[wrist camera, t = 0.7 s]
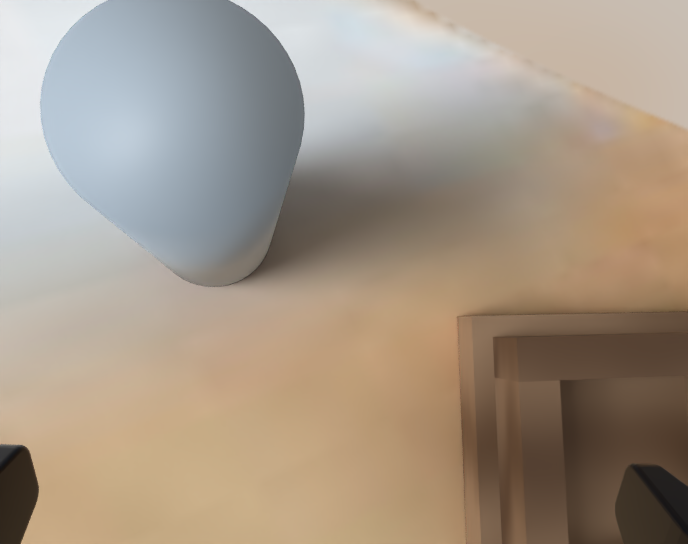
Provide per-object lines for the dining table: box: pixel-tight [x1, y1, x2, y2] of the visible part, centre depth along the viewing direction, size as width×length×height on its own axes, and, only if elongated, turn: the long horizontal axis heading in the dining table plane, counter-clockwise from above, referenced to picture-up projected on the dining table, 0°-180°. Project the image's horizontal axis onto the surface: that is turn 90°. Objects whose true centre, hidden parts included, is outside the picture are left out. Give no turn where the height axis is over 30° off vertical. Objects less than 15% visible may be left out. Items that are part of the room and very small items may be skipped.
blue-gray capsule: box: [40, 0, 305, 287], centre depth 16 cm, size 4×4×12 cm
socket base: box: [457, 312, 688, 544], centre depth 22 cm, size 11×11×4 cm
